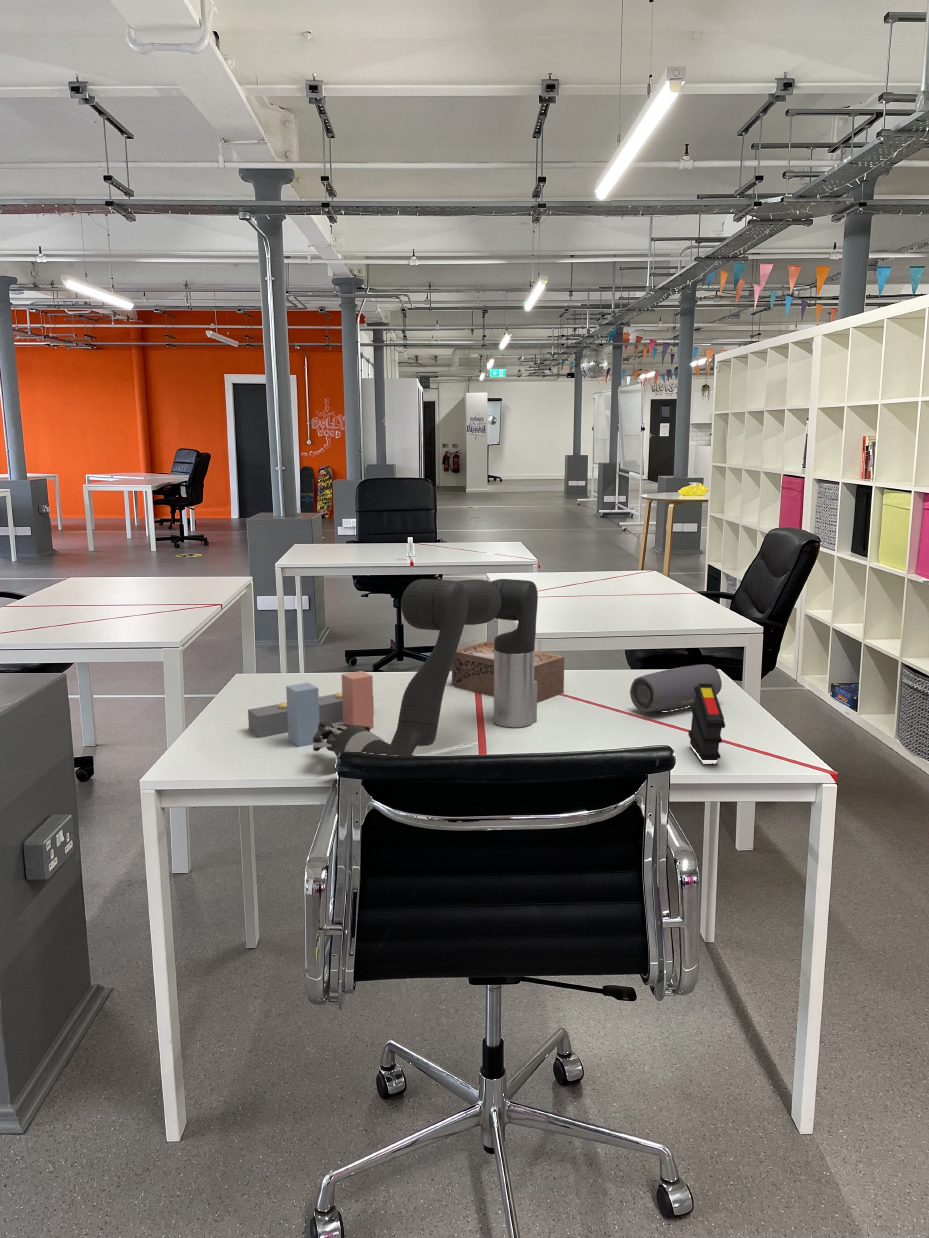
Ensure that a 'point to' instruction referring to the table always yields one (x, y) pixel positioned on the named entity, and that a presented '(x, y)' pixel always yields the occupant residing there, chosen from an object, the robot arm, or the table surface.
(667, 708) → the bluetooth speaker
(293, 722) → the blue key
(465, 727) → the table surface
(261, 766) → the table surface
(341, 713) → the console
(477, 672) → the tissue box cover
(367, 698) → the red key
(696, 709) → the black stepped tower
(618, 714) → the table surface
